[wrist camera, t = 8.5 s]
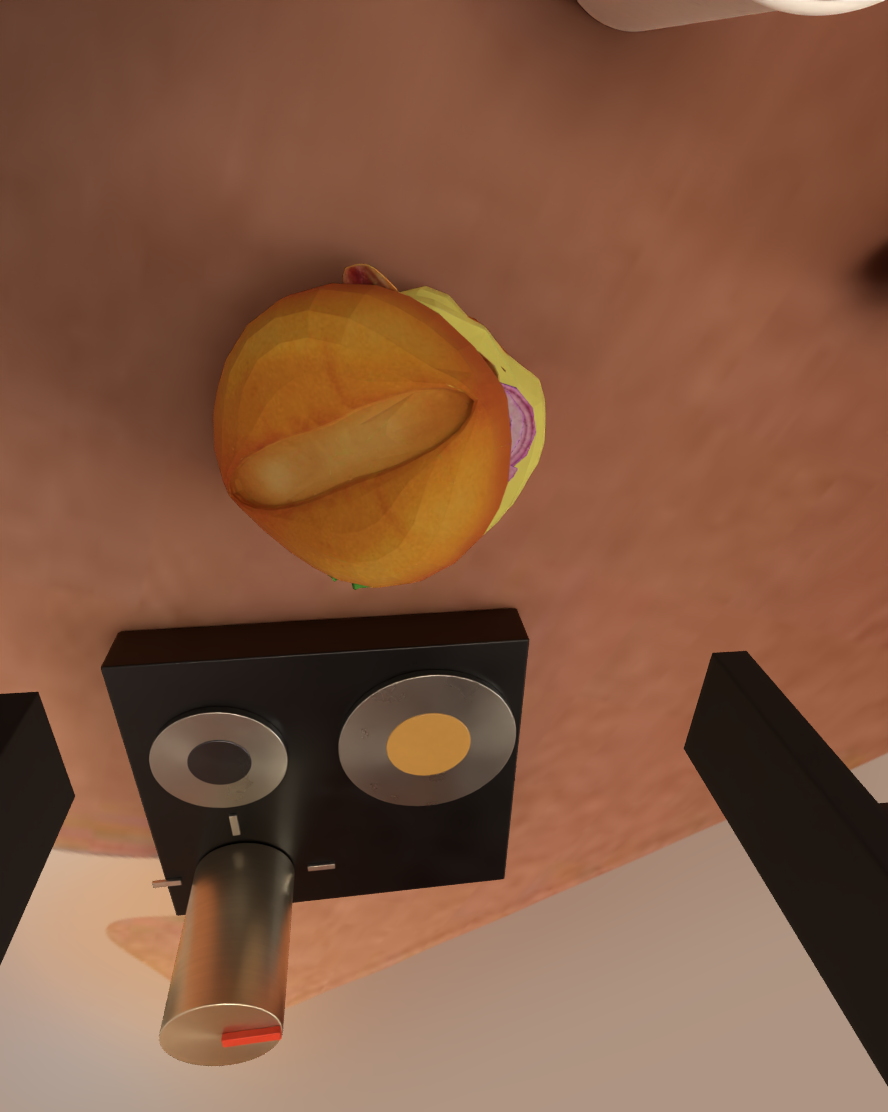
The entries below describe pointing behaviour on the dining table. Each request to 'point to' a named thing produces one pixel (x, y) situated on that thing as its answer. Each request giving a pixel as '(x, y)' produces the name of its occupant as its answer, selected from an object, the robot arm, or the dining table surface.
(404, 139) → the dining table surface
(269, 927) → the stove knob
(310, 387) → the cheeseburger
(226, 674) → the stove
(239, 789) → the burners
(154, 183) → the dining table surface
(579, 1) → the dixie cup
